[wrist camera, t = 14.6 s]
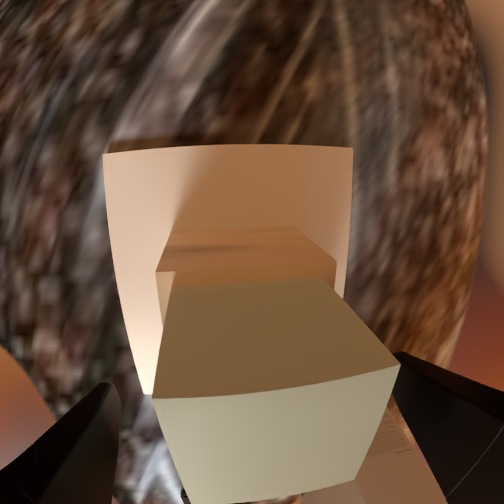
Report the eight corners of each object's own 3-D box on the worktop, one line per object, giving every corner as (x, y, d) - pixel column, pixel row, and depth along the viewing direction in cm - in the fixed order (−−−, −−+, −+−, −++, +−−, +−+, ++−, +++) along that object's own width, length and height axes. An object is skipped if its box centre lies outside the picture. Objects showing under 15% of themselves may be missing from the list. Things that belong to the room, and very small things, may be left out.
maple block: (290, 332, 17) (319, 391, 12) (182, 340, 16) (178, 406, 11) (295, 227, 15) (336, 261, 10) (170, 232, 14) (154, 272, 9)
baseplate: (328, 371, 19) (331, 376, 18) (144, 388, 17) (143, 394, 17) (347, 147, 15) (353, 148, 14) (106, 154, 13) (102, 154, 12)
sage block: (309, 385, 12) (354, 479, 7) (189, 398, 11) (191, 505, 6) (321, 276, 10) (400, 364, 6) (171, 287, 10) (151, 398, 5)
